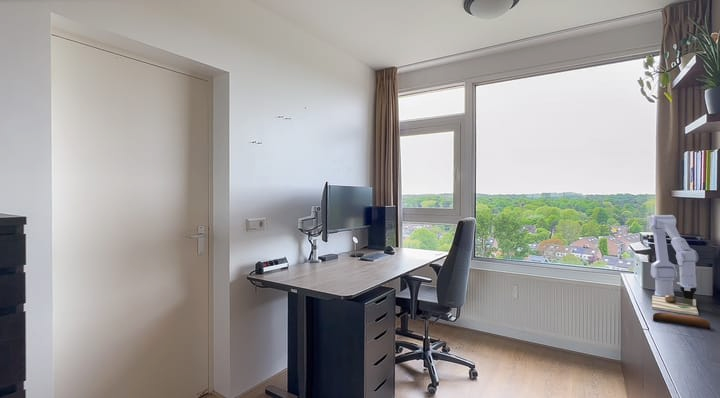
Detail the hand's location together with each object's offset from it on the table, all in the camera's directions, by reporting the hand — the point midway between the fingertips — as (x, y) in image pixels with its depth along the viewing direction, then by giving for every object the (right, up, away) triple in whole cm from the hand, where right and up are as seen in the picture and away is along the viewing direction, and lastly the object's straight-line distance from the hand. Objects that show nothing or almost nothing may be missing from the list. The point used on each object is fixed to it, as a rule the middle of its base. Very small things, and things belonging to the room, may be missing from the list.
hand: (688, 302), depth 165 cm
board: (-5, -2, +2) cm, 6 cm away
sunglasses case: (-22, -4, -18) cm, 29 cm away
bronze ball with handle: (-3, -1, +2) cm, 3 cm away
